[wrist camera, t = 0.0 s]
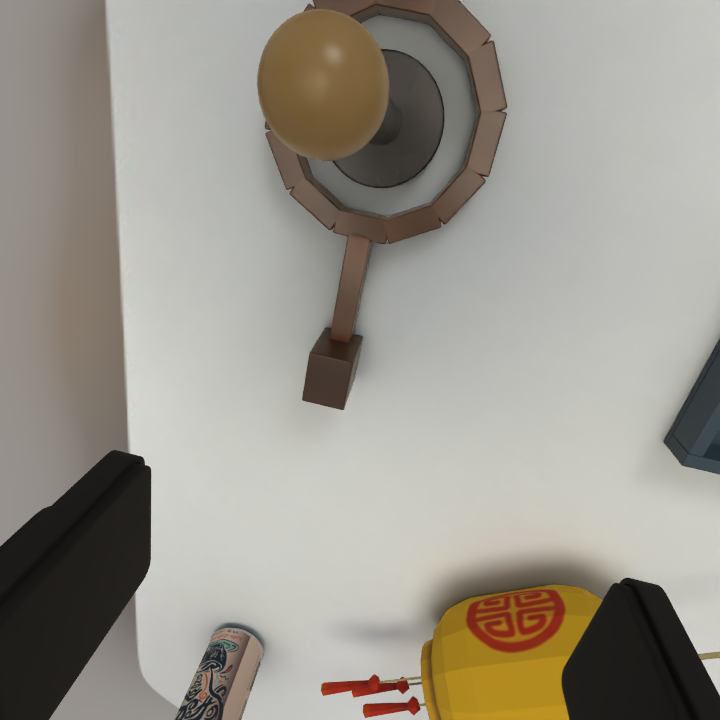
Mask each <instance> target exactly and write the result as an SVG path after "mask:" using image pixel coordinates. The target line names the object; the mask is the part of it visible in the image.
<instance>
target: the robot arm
mask: <svg viewBox="0 0 720 720" xmlns="http://www.w3.org/2000/svg"><path fill="white" fill-rule="evenodd" d="M150 560H151V468H150V467H149V466H146V465H145V462H144V459H143V457H141V456H137V455H133V454H129V453H124V452H121V451H117V450H113V451H111V452H109V453H108V454H107V455H106V456H105V457H104V458H102V460H100V461H99V462H98V463H97V464H96V465H95V466H94V467H93V468H92V469H91V470H90V471H88V473H86V474H85V475H84V476H83V477H82V478H81V479H80V480H79V481H78V482H77V483H76V484H74V485H73V486H72V487H71V488H70V489H69V490H68V491H67V492H66V493H65V494H64V495H63V496H62V497H60V498H59V499H58V500H57V501H56V502H55V503H54V504H53V505H52V506H49V507H47V508H44V509H42V510H41V511H40V512H38V513H37V514H36V515H34V516H33V517H32V518H31V519H30V520H29V521H28V522H27V523H26V524H24V525H23V526H22V527H21V528H20V529H19V530H18V531H17V532H16V533H15V534H14V535H12V536H11V537H10V538H9V539H8V540H7V541H6V542H5V543H4V544H3V545H2V546H0V720H49V719H50V717H51V716H52V714H53V713H54V711H55V710H56V708H57V707H58V705H59V704H60V702H61V701H62V699H63V698H64V696H65V695H66V693H67V692H68V691H69V689H70V688H71V686H72V685H73V683H74V682H75V680H76V679H77V677H78V676H79V674H80V673H81V671H82V670H83V668H84V667H85V665H86V664H87V663H88V661H89V659H90V658H91V656H92V655H93V654H94V652H95V651H96V649H97V648H98V646H99V645H100V643H101V642H102V640H103V639H104V637H105V636H106V634H107V633H108V631H109V630H110V628H111V626H112V625H113V624H114V623H115V621H116V619H117V618H118V616H119V615H120V614H121V612H122V610H123V609H124V608H125V606H126V605H127V603H128V602H129V600H130V599H131V597H132V596H133V594H134V593H135V592H136V590H137V589H138V587H139V586H140V584H141V583H142V581H143V580H144V578H145V576H146V574H147V572H148V569H149V566H150ZM561 683H562V691H563V695H564V699H565V703H566V707H567V712H568V716H569V720H720V695H719V694H718V692H717V690H716V688H715V686H714V684H713V682H712V680H711V678H710V676H709V675H708V673H707V671H706V669H705V667H704V665H703V663H702V661H701V659H700V657H699V656H698V654H697V652H696V650H695V648H694V646H693V644H692V642H691V640H690V638H689V637H688V635H687V633H686V631H685V629H684V627H683V625H682V623H681V621H680V619H679V618H678V616H677V614H676V612H675V610H674V608H673V606H672V604H671V602H670V600H669V599H668V597H667V595H666V593H665V592H664V590H663V589H662V588H661V587H660V586H658V585H655V584H651V583H647V582H643V581H639V580H635V579H631V578H625V579H623V580H622V581H621V582H620V583H614V584H613V585H612V586H611V587H610V589H609V591H608V592H607V594H606V596H605V597H604V599H603V601H602V603H601V604H600V606H599V608H598V609H597V611H596V613H595V615H594V616H593V618H592V620H591V622H590V623H589V625H588V627H587V628H586V630H585V632H584V634H583V635H582V637H581V639H580V640H579V642H578V644H577V646H576V647H575V649H574V651H573V652H572V654H571V656H570V658H569V659H568V661H567V663H566V665H565V666H564V668H563V671H562V678H561Z"/></svg>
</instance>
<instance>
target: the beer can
mask: <svg viewBox="0 0 720 720" xmlns="http://www.w3.org/2000/svg"><path fill="white" fill-rule="evenodd" d="M263 655H264V650H263V647H262V645H261V643H260V642H259V640H258V639H257V638H256V637H254V636H253V635H252V634H251V633H250V632H248V631H246V630H243V629H240V628H223V629H220V630H218V631H216V632H215V633H214V634H213V635H212V637H211V640H210V643H209V645H208V648H207V650H206V652H205V654H204V656H203V659H202V661H201V663H200V665H199V667H198V670H197V672H196V674H195V676H194V678H193V680H192V683H191V685H190V687H189V689H188V691H187V694H186V696H185V698H184V700H183V702H182V705H181V707H180V709H179V712H178V713H177V716H176V718H175V720H241V718H242V716H243V713H244V710H245V707H246V704H247V701H248V698H249V695H250V692H251V689H252V686H253V683H254V680H255V677H256V674H257V671H258V668H259V665H260V662H261V660H262V658H263Z"/></svg>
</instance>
